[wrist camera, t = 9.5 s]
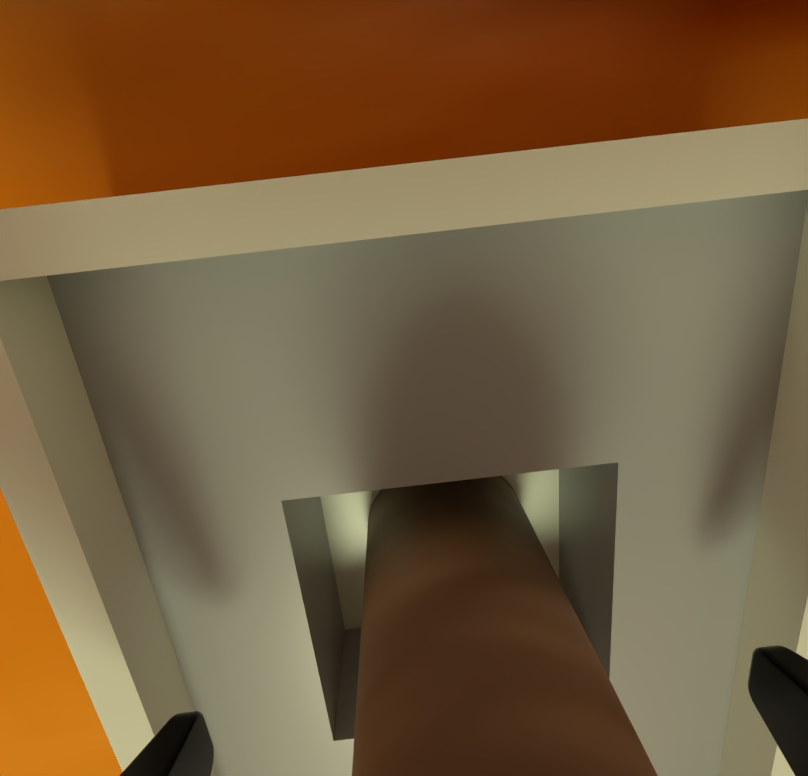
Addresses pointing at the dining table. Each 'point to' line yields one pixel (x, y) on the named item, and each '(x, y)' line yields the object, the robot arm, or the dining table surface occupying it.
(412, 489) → the walnut peg
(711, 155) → the open bin
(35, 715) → the dining table surface
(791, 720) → the robot arm
